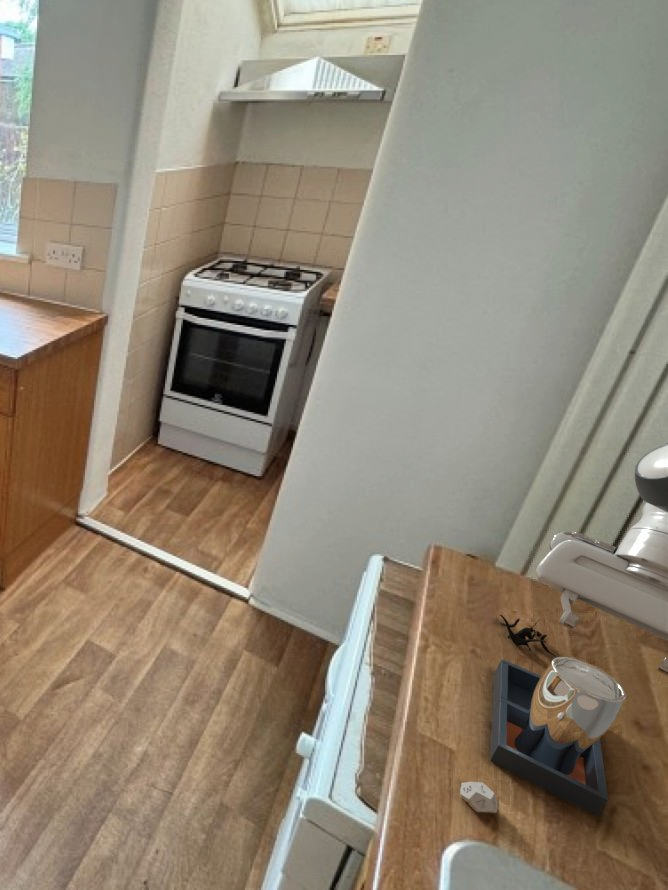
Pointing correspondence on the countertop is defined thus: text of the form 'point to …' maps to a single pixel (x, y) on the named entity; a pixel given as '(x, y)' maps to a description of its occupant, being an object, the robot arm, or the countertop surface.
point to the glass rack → (508, 721)
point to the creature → (524, 635)
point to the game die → (479, 797)
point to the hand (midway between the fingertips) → (613, 648)
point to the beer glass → (568, 713)
